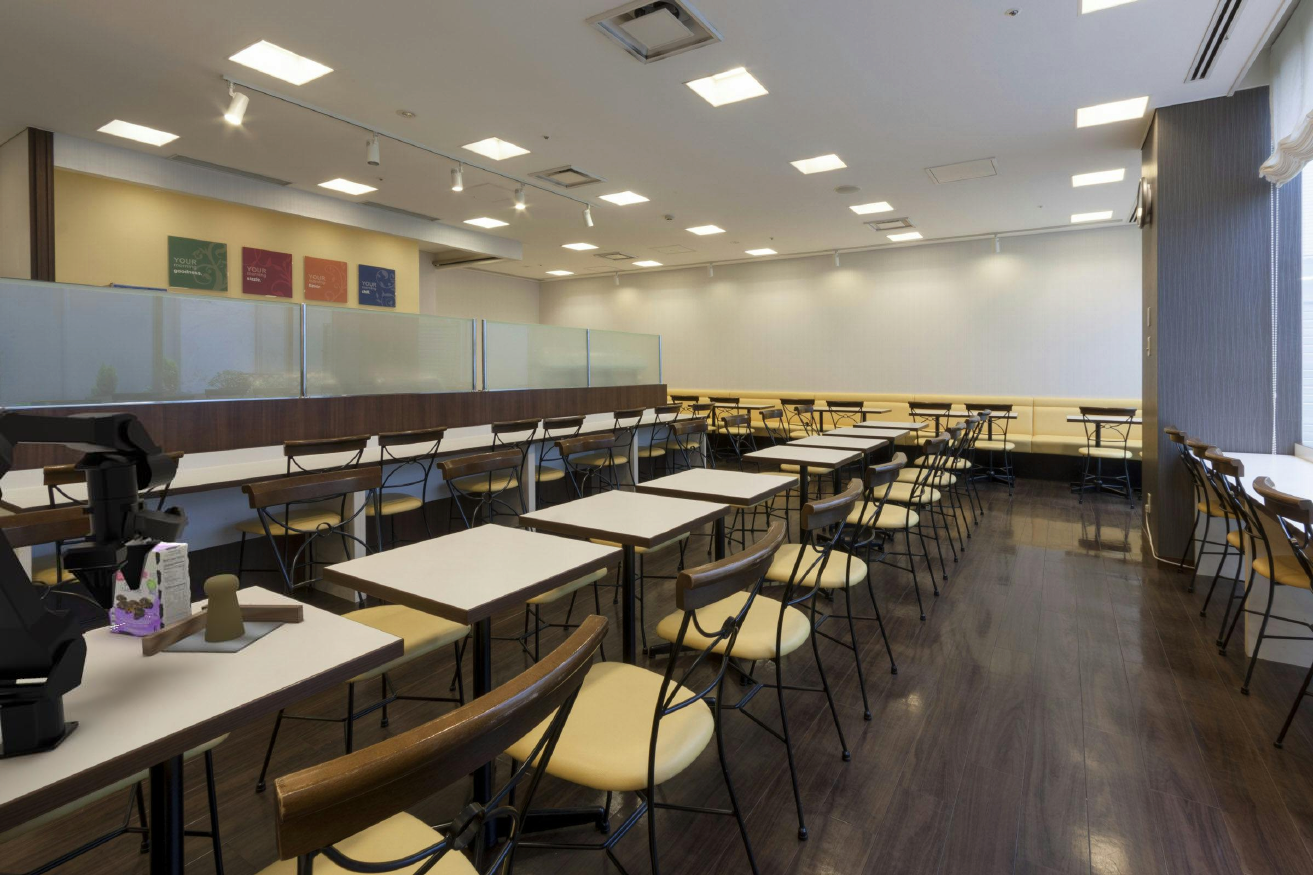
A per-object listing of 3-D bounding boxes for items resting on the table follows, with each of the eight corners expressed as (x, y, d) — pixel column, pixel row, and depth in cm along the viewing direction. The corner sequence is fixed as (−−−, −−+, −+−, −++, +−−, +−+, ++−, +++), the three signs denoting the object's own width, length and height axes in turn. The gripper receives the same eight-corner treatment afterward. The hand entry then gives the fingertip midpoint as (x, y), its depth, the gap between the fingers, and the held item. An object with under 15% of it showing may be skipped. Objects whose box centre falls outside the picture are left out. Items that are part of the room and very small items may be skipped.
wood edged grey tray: (243, 656, 105) (242, 639, 105) (134, 655, 106) (132, 638, 106) (303, 620, 122) (302, 604, 121) (208, 619, 123) (207, 604, 122)
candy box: (108, 632, 117) (100, 544, 115) (142, 621, 122) (135, 537, 121) (162, 640, 112) (155, 549, 111) (195, 628, 118) (188, 541, 117)
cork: (237, 640, 111) (233, 579, 110) (198, 644, 110) (193, 582, 109) (250, 628, 117) (246, 569, 116) (213, 631, 116) (209, 572, 115)
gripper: (154, 503, 88) (163, 612, 90) (198, 484, 106) (205, 575, 107) (53, 509, 84) (63, 623, 86) (116, 488, 102) (124, 583, 103)
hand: (122, 598), depth 96 cm, fingers open, 9 cm apart
